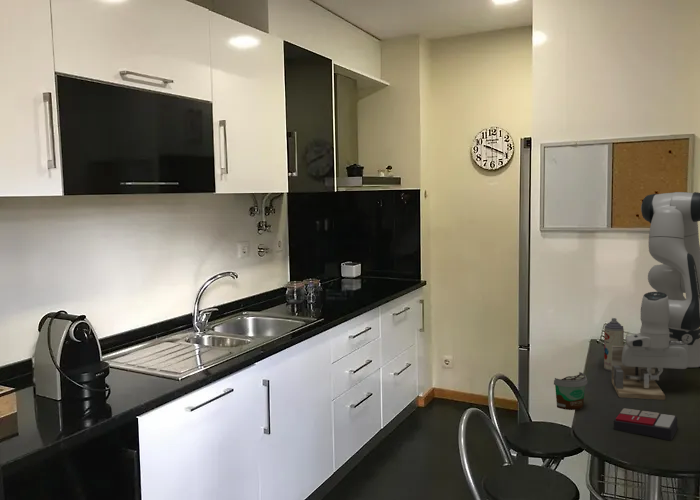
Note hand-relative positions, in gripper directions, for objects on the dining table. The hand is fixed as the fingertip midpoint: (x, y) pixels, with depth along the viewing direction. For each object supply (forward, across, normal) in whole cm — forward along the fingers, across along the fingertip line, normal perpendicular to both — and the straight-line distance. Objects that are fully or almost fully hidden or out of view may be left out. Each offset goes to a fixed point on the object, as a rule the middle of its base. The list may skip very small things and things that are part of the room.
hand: (653, 379), depth 203 cm
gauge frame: (+4, +5, 0) cm, 7 cm away
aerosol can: (+4, +9, -24) cm, 26 cm away
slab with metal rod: (+2, +5, -1) cm, 6 cm away
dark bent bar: (+2, +4, -5) cm, 7 cm away
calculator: (+5, +9, +34) cm, 35 cm away
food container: (+4, +27, +20) cm, 34 cm away
